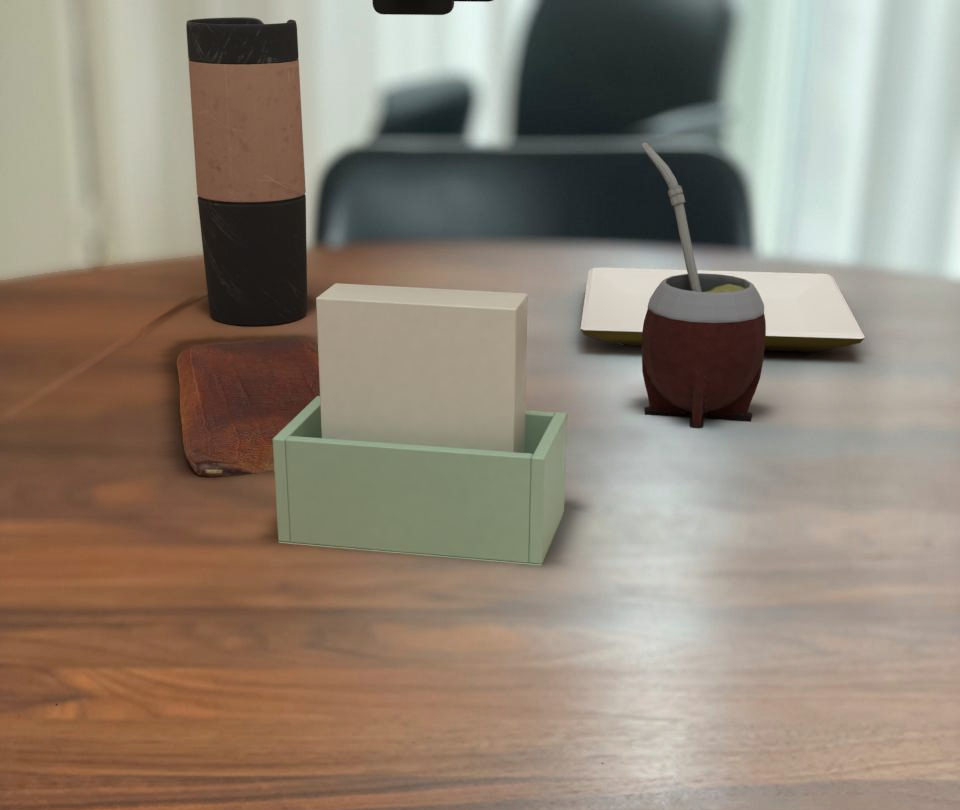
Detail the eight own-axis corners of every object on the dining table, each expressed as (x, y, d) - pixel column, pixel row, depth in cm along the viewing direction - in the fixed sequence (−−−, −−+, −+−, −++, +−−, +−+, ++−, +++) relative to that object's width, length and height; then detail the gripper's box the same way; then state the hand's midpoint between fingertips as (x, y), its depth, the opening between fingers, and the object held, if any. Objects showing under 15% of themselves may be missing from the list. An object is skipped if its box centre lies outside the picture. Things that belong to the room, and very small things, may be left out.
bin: (278, 551, 70) (272, 438, 67) (321, 501, 76) (316, 395, 73) (541, 574, 67) (544, 458, 65) (563, 520, 73) (567, 412, 71)
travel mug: (211, 329, 106) (188, 25, 97) (201, 304, 113) (180, 17, 104) (318, 323, 108) (305, 24, 99) (303, 299, 114) (290, 16, 106)
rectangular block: (325, 529, 71) (315, 297, 66) (342, 507, 73) (334, 282, 69) (511, 545, 69) (516, 308, 64) (523, 522, 72) (528, 293, 67)
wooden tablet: (380, 478, 79) (379, 448, 78) (187, 489, 77) (184, 458, 76) (323, 345, 102) (322, 321, 102) (173, 352, 100) (171, 327, 100)
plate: (587, 293, 117) (588, 266, 116) (830, 300, 116) (833, 273, 115) (579, 356, 100) (580, 326, 99) (862, 366, 99) (866, 335, 98)
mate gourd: (757, 441, 85) (783, 165, 78) (618, 432, 86) (632, 160, 79) (757, 402, 91) (781, 146, 85) (628, 395, 92) (642, 141, 86)
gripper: (392, -436, 65) (402, -4, 72) (265, -543, 49) (294, 19, 57) (565, -443, 63) (557, -3, 71) (489, -556, 48) (488, 21, 55)
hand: (440, 6), depth 64 cm, fingers open, 9 cm apart
